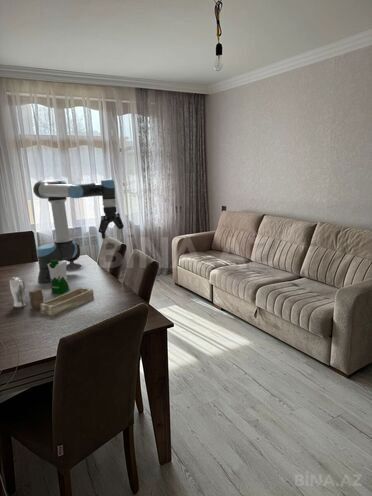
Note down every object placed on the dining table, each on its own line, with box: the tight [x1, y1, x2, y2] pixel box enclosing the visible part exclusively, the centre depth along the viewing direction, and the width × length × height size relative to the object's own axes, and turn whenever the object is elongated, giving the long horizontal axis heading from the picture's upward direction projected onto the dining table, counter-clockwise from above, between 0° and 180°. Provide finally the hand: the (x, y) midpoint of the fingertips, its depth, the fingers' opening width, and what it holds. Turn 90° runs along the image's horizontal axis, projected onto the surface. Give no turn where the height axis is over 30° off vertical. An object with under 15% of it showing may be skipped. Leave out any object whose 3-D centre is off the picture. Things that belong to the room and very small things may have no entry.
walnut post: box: [28, 288, 45, 312], centre depth 180 cm, size 4×4×10 cm
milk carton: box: [47, 260, 70, 295], centre depth 203 cm, size 9×9×20 cm
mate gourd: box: [64, 237, 81, 269], centre depth 260 cm, size 16×14×20 cm
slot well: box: [40, 286, 95, 317], centre depth 184 cm, size 9×27×5 cm, turn 150°
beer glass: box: [9, 276, 27, 308], centre depth 185 cm, size 7×7×15 cm
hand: (112, 241), depth 209 cm, fingers open, 13 cm apart
